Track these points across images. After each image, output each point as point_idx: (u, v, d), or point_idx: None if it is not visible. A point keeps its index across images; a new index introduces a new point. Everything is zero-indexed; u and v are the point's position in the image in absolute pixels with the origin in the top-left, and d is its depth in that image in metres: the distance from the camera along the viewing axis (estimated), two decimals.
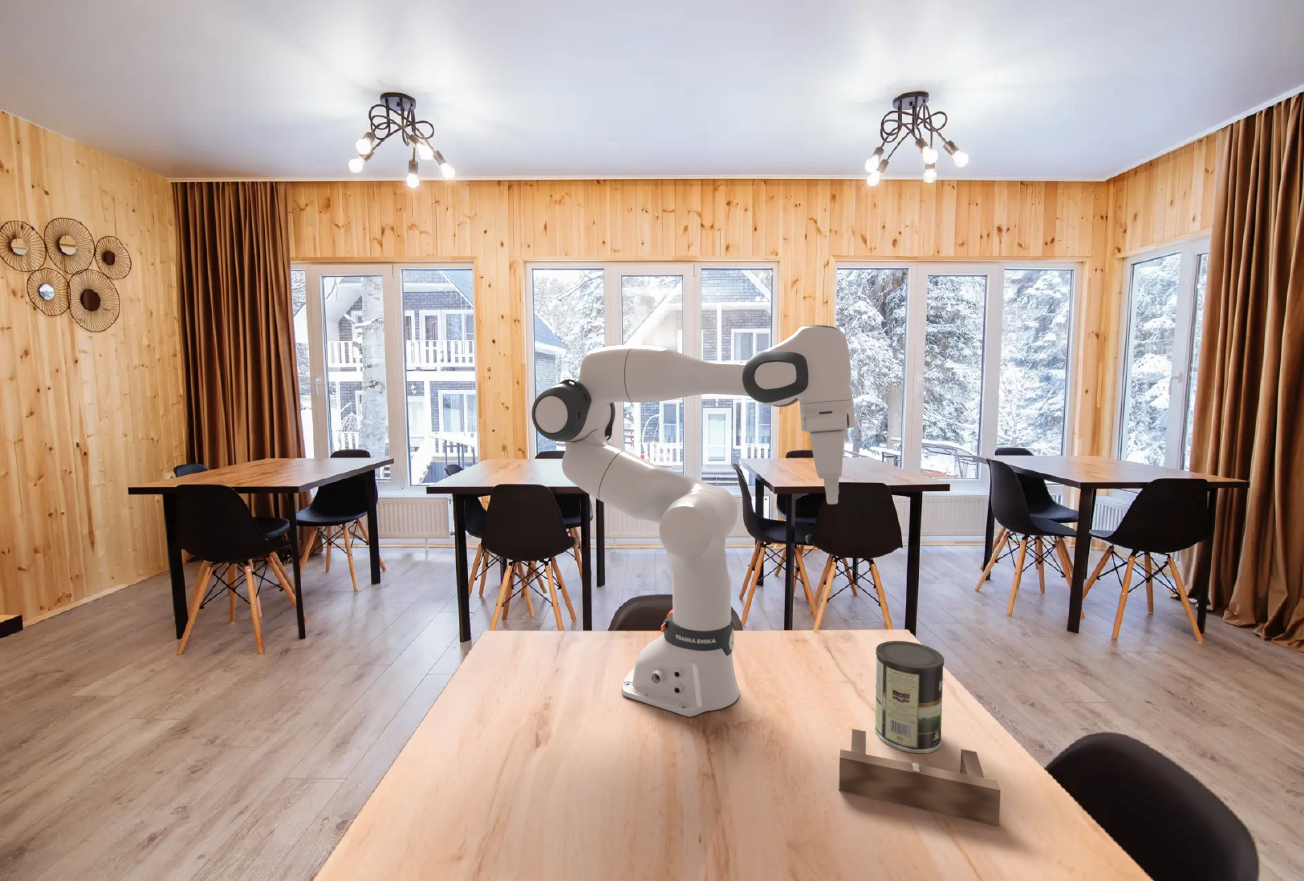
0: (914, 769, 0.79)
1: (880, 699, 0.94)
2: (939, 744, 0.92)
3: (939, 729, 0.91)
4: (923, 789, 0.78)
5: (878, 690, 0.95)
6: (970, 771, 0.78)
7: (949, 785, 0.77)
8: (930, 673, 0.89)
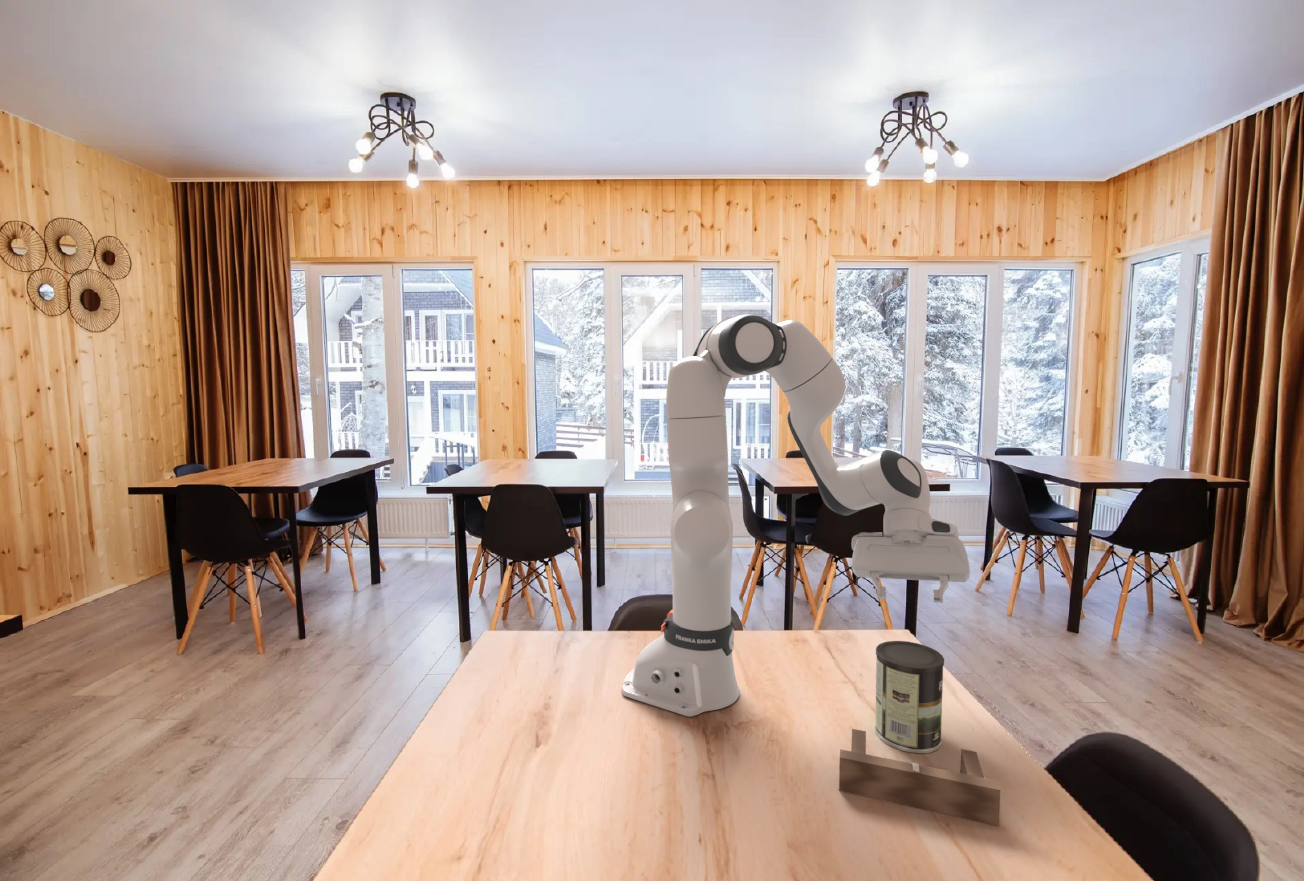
0: (914, 769, 0.79)
1: (880, 699, 0.94)
2: (939, 744, 0.92)
3: (939, 729, 0.91)
4: (923, 789, 0.78)
5: (878, 690, 0.95)
6: (970, 771, 0.78)
7: (949, 785, 0.77)
8: (930, 673, 0.89)
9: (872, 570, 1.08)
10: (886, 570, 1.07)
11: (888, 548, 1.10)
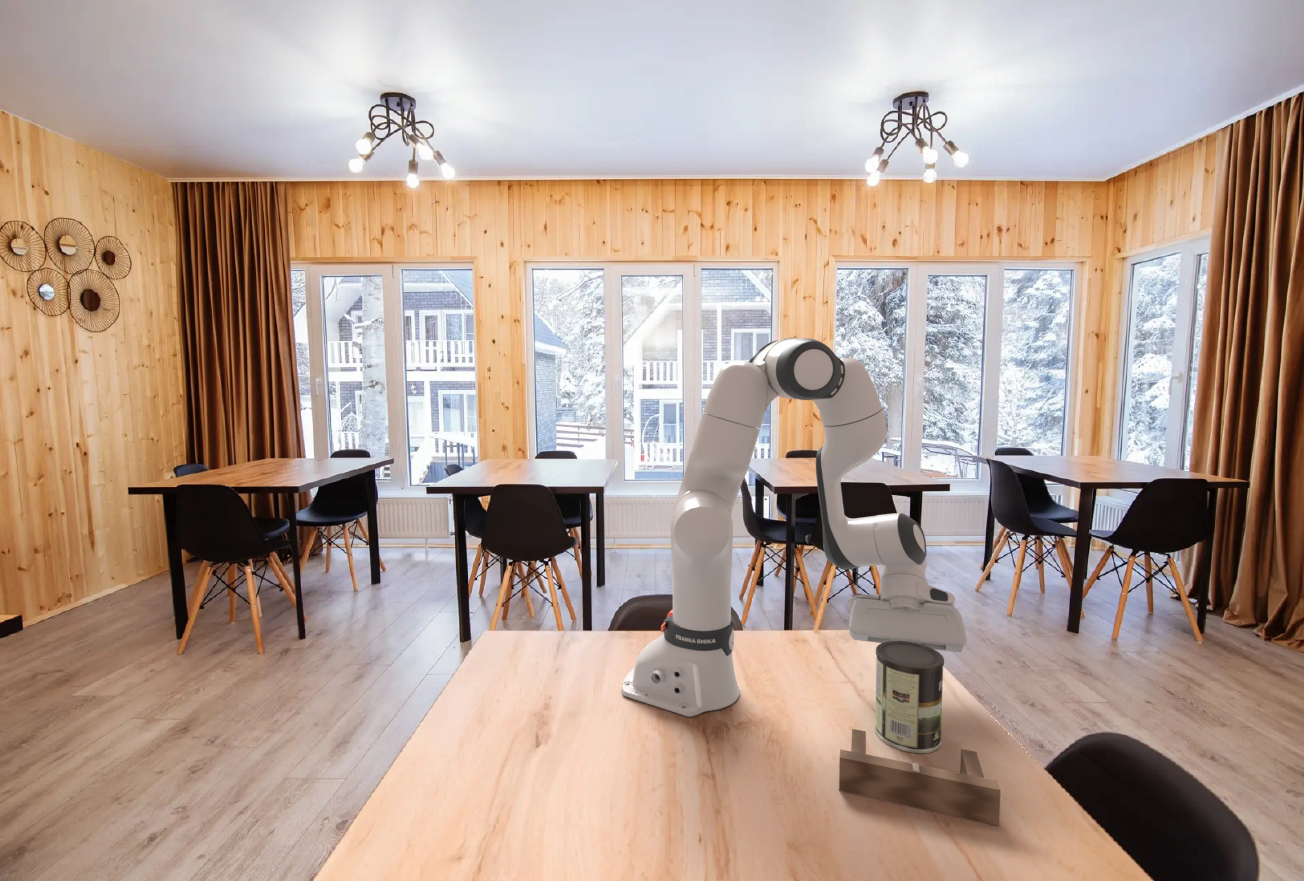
0: (914, 769, 0.79)
1: (880, 699, 0.94)
2: (939, 744, 0.92)
3: (939, 729, 0.91)
4: (923, 789, 0.78)
5: (878, 690, 0.95)
6: (970, 771, 0.78)
7: (949, 785, 0.77)
8: (930, 673, 0.89)
9: (870, 635, 1.08)
10: (884, 636, 1.07)
11: (885, 613, 1.10)
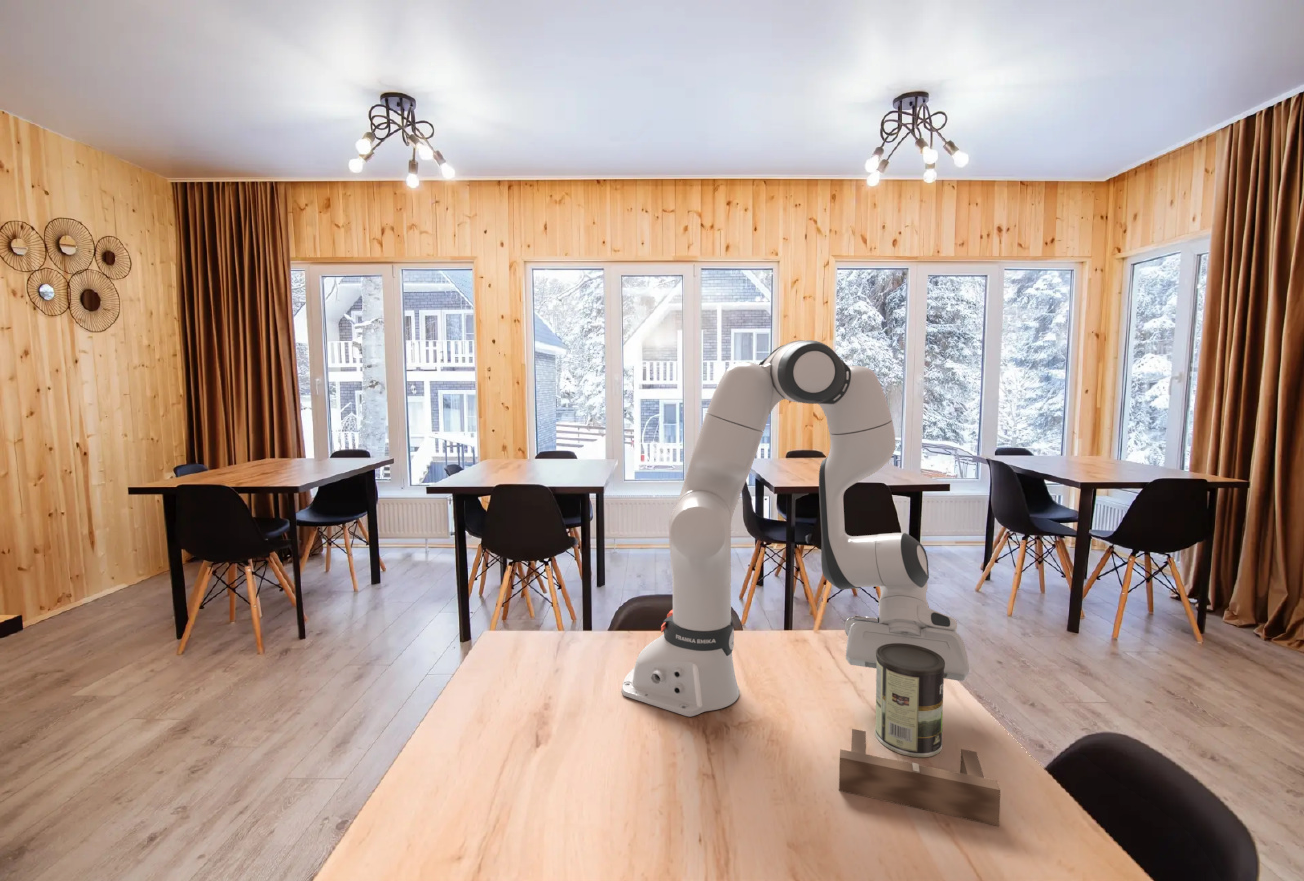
0: (914, 769, 0.79)
1: (880, 702, 0.93)
2: (940, 748, 0.91)
3: (939, 733, 0.90)
4: (923, 789, 0.78)
5: (878, 693, 0.94)
6: (970, 771, 0.78)
7: (949, 785, 0.77)
8: (930, 676, 0.88)
9: (868, 661, 1.03)
10: None
11: (884, 637, 1.05)
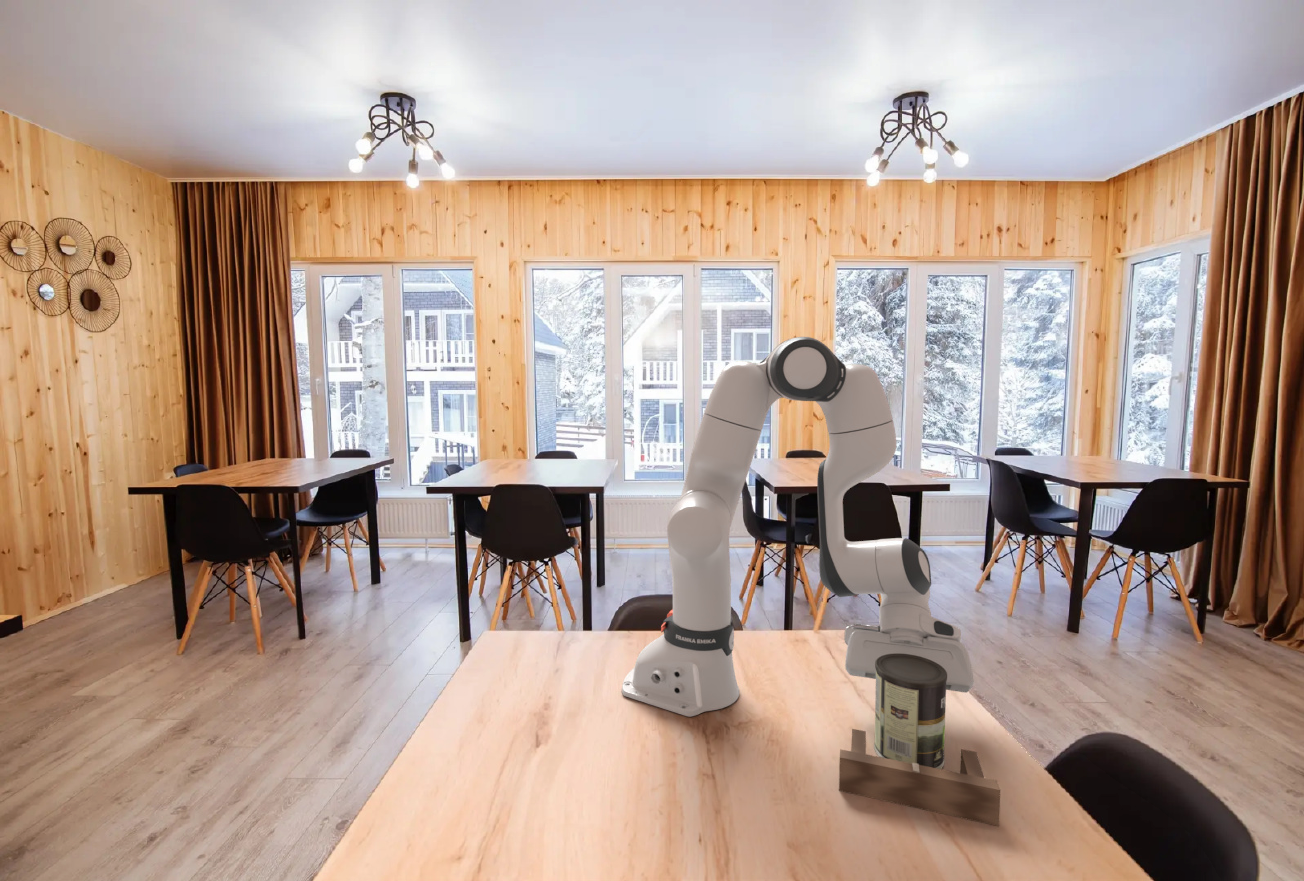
0: (914, 769, 0.79)
1: (879, 715, 0.89)
2: (941, 764, 0.87)
3: (941, 749, 0.86)
4: (923, 789, 0.78)
5: (877, 705, 0.90)
6: (970, 771, 0.78)
7: (949, 785, 0.77)
8: (930, 689, 0.85)
9: (868, 671, 0.99)
10: None
11: (885, 646, 1.01)
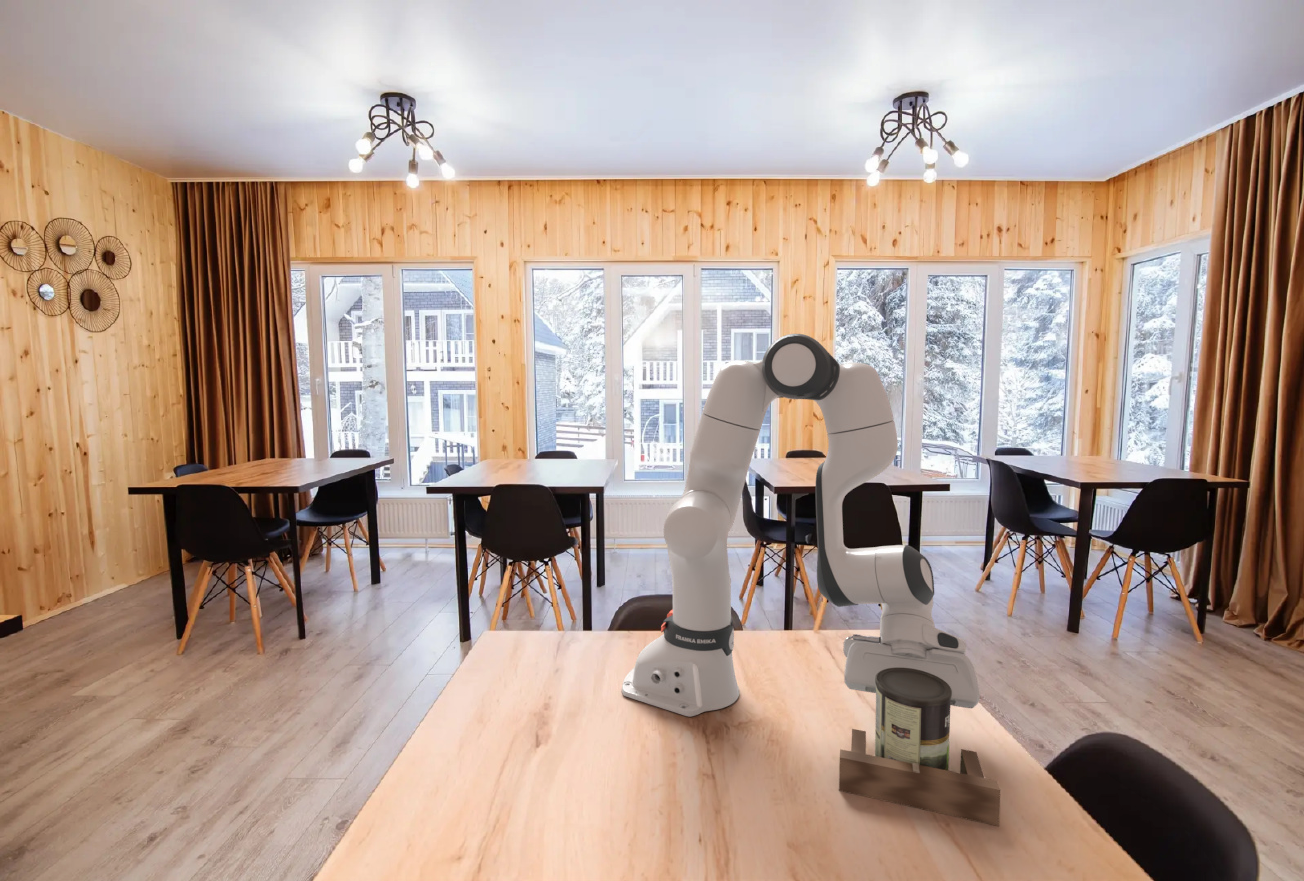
0: (914, 769, 0.79)
1: (879, 733, 0.85)
2: None
3: None
4: (923, 789, 0.78)
5: (877, 722, 0.85)
6: (970, 771, 0.78)
7: (949, 785, 0.77)
8: (933, 707, 0.80)
9: (868, 685, 0.94)
10: None
11: (886, 659, 0.96)
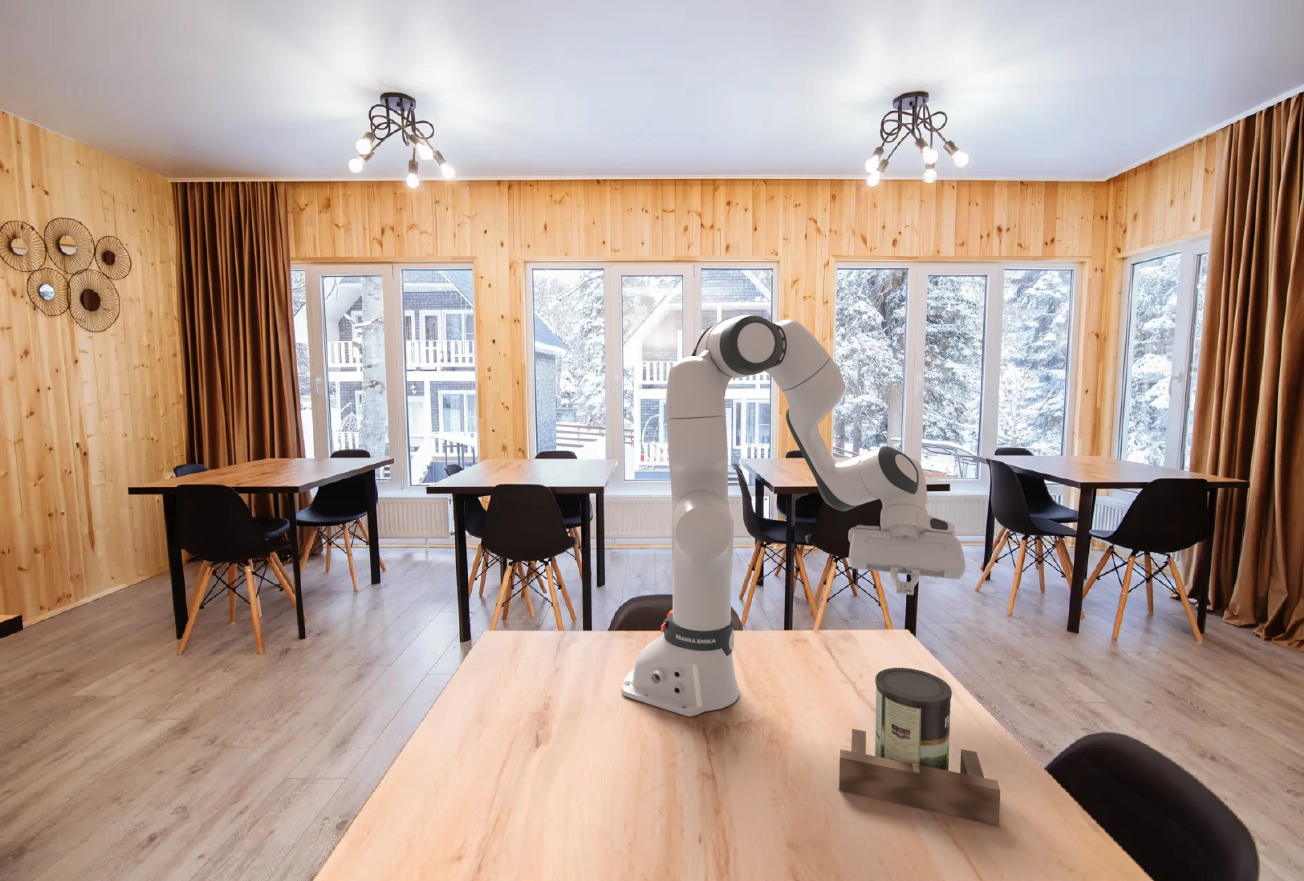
0: (914, 769, 0.79)
1: (879, 733, 0.85)
2: None
3: None
4: (923, 789, 0.78)
5: (877, 723, 0.85)
6: (970, 771, 0.78)
7: (949, 785, 0.77)
8: (933, 707, 0.80)
9: (869, 562, 1.09)
10: (883, 563, 1.08)
11: (885, 542, 1.11)
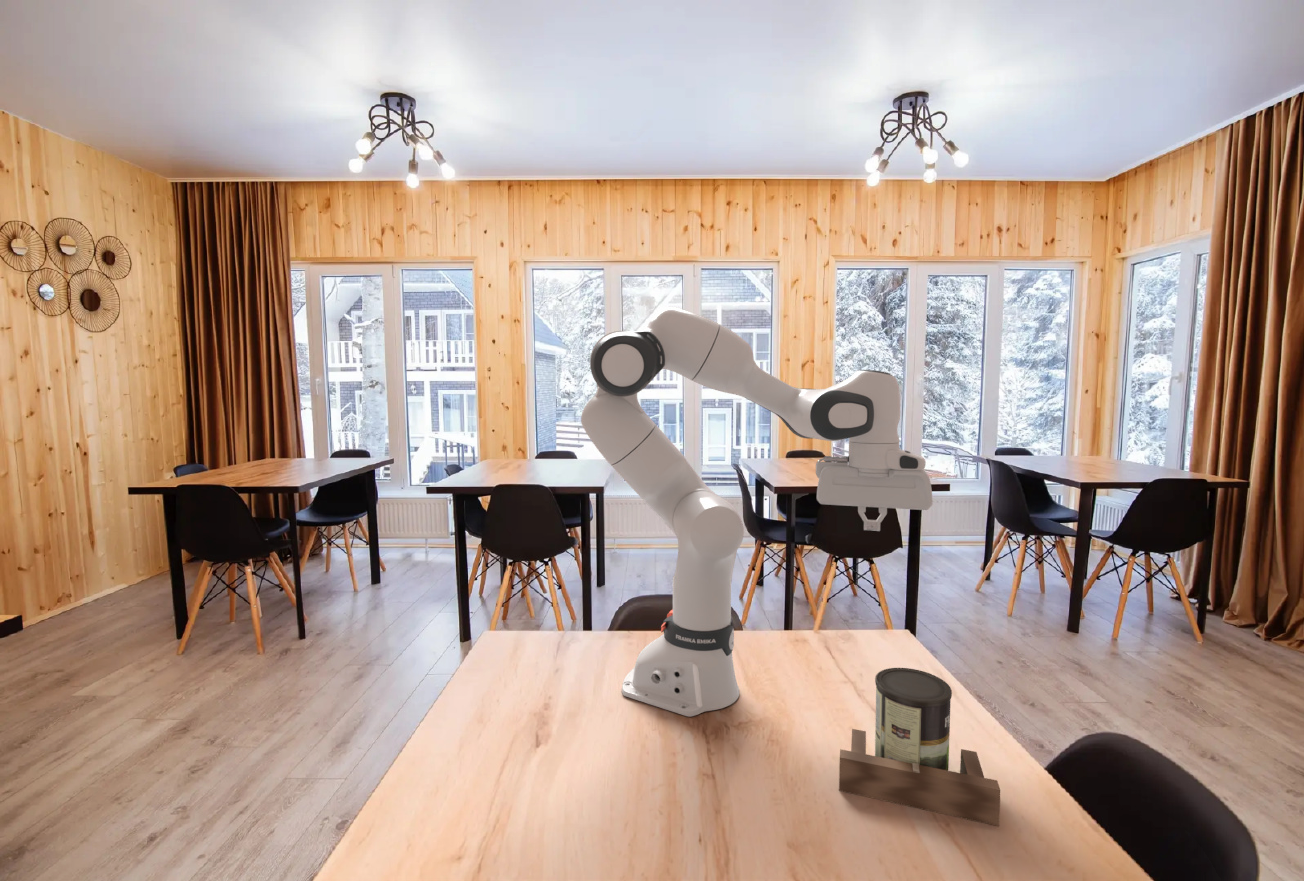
0: (914, 769, 0.79)
1: (879, 733, 0.85)
2: None
3: None
4: (923, 789, 0.78)
5: (877, 723, 0.85)
6: (970, 771, 0.78)
7: (949, 785, 0.77)
8: (933, 707, 0.80)
9: (837, 504, 1.09)
10: (851, 505, 1.08)
11: (853, 480, 1.07)
